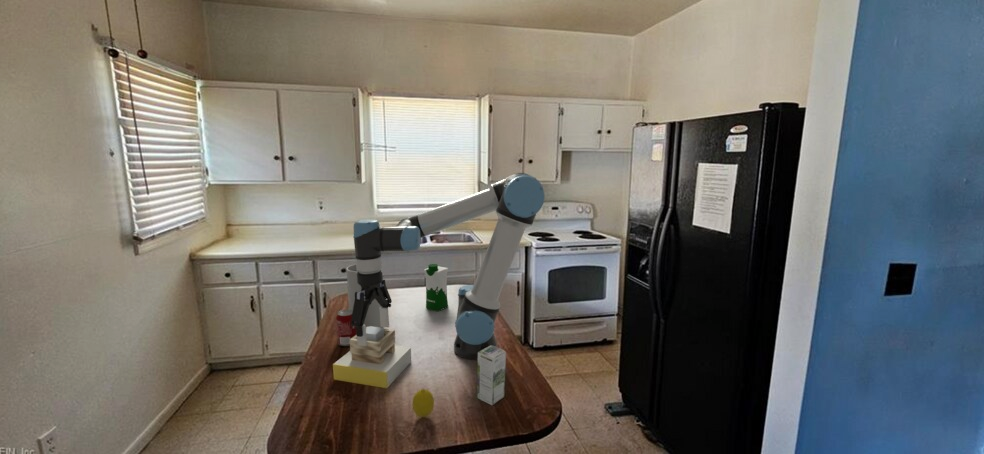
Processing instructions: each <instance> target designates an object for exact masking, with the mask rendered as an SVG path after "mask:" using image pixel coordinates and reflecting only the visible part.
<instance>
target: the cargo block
mask: <svg viewBox="0 0 984 454" xmlns="http://www.w3.org/2000/svg"><path fill="white" fill-rule="evenodd" d="M384 329H385V327H383V328H381V327H373V326H369V327H368V328H367V329H366V339H367V340H368V341H375V342H378V341H379V340H380V339H382V338H383V337H384Z"/></svg>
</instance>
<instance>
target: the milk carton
mask: <svg viewBox="0 0 984 454" xmlns="http://www.w3.org/2000/svg"><path fill="white" fill-rule="evenodd" d="M423 272H424V276H425V292H426V293H425V309H426V308H427V309H428V310H430V309H431V311H434V310H435V312H440V311H442V310H444V309H446V308H448V307H449V303H448V289H447V288H448V286H447V285H448V283H447V282H448V281H447V280H448V272H449V267H443V266H439V265H438V264H437V263H436V264H435V263H431V264H428V267H427V268H424V269H423ZM447 306H448V307H447ZM445 307H446V308H445ZM443 308H444V309H443ZM441 309H442V310H441ZM439 310H440V311H439Z"/></svg>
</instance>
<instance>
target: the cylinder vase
mask: <svg viewBox="0 0 984 454" xmlns="http://www.w3.org/2000/svg"><path fill="white" fill-rule="evenodd" d="M357 272H358V271H357V269H356V263H355V264H351V265H349V266H347V267H346V281H347V284H346V285H347V295H348V296H347V297H348V298H347V299H348V309H351V310H353V307H354V302H355V292H361V286H360V285H359V284H358V283H357ZM364 301H366V300H365V299H364ZM380 307H381V306H380V304H379V303H378V302H377V300H376V299H374V300H373V301H372V303H371V304H370V305H369V308H368V311H367V315H366V318H365V321H364V324H363V325H365V326H366V327H369V326H373V327H381V323H380V309H379V308H380ZM381 328H384V327H381Z"/></svg>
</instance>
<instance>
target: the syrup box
mask: <svg viewBox="0 0 984 454" xmlns="http://www.w3.org/2000/svg"><path fill="white" fill-rule="evenodd" d="M506 354H507V352H506V351H505V350H504V349H502V348H500V347H498V346H497V347H495V346H492V345H490V346H488V347H487V348H485V349H483V350H481V351H479V352H478V359H477V377H476V378H477V380H476V381H477V383H476V385H477V387H476V398H477V399H478V400H480V401H482V402H484V403H485V404H488V405H490V406H494V405H496V403H498V402H500V401H501V400H502V399H503V398H504V397H505V393H506V359H507V358H506V357H507V355H506Z"/></svg>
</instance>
